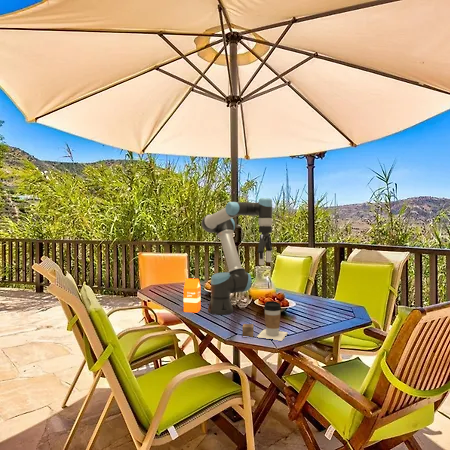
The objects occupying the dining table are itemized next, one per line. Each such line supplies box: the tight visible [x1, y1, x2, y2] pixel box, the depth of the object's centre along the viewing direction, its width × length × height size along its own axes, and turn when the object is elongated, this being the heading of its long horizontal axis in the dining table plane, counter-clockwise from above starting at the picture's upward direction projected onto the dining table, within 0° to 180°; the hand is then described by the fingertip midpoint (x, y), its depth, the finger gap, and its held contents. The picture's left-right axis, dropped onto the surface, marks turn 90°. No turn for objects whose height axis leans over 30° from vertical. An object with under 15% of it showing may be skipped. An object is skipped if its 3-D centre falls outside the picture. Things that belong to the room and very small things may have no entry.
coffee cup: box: [263, 300, 282, 336], centre depth 160 cm, size 8×8×15 cm
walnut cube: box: [242, 323, 255, 338], centre depth 160 cm, size 5×5×5 cm
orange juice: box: [183, 277, 202, 314], centre depth 205 cm, size 8×9×20 cm
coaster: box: [256, 328, 288, 342], centre depth 159 cm, size 12×12×1 cm
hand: (265, 263), depth 186 cm, fingers open, 13 cm apart
